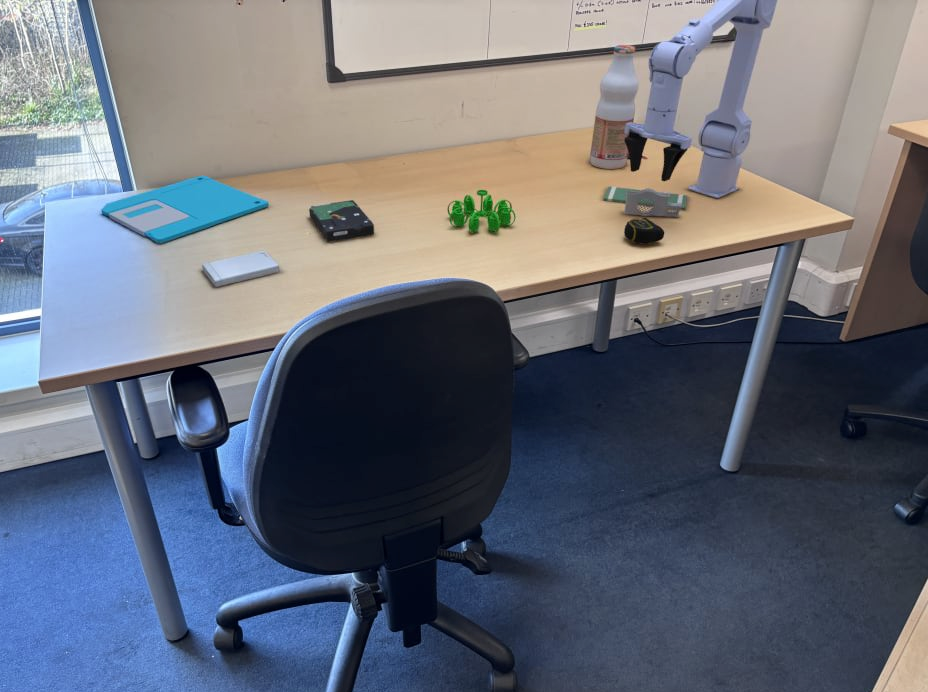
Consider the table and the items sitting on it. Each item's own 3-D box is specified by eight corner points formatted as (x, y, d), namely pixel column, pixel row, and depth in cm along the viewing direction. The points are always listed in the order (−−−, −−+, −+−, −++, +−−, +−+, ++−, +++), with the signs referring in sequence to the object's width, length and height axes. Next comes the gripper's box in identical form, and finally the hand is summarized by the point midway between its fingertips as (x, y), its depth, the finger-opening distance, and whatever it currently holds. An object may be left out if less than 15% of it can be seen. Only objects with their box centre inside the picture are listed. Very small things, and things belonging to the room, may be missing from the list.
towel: (607, 188, 177) (608, 186, 177) (686, 197, 172) (687, 195, 172) (603, 200, 171) (603, 197, 170) (684, 210, 166) (685, 207, 165)
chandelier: (436, 231, 157) (437, 199, 153) (457, 206, 168) (458, 176, 164) (505, 241, 152) (508, 209, 148) (522, 214, 164) (525, 184, 160)
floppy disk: (270, 206, 168) (269, 202, 167) (159, 244, 151) (159, 239, 150) (203, 179, 182) (203, 175, 182) (96, 211, 166) (95, 206, 165)
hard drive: (263, 249, 146) (201, 262, 141) (279, 265, 140) (214, 279, 135) (264, 256, 147) (202, 270, 141) (280, 273, 141) (216, 288, 136)
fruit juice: (581, 163, 192) (596, 46, 176) (602, 155, 197) (619, 41, 181) (612, 172, 186) (631, 52, 170) (633, 163, 192) (653, 46, 175)
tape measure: (663, 245, 151) (667, 227, 149) (634, 249, 149) (637, 231, 147) (645, 232, 156) (648, 215, 154) (616, 236, 154) (619, 219, 152)
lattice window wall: (678, 215, 163) (683, 189, 160) (679, 218, 162) (684, 192, 159) (622, 212, 165) (626, 186, 162) (623, 215, 164) (627, 189, 160)
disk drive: (375, 236, 155) (353, 210, 166) (375, 224, 153) (353, 198, 164) (327, 244, 151) (308, 217, 163) (326, 231, 150) (307, 205, 161)
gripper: (619, 104, 150) (609, 170, 158) (682, 119, 141) (668, 189, 149) (640, 98, 154) (630, 163, 161) (703, 112, 145) (688, 180, 152)
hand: (649, 175), depth 155 cm, fingers open, 7 cm apart
